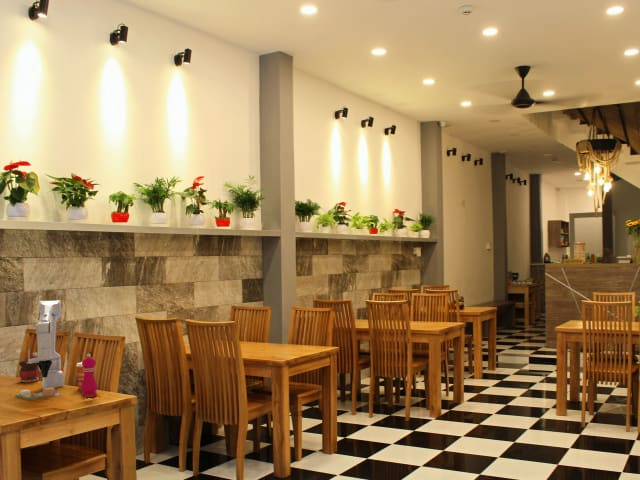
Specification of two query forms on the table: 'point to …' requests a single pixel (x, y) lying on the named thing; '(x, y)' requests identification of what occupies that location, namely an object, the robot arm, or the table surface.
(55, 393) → the plate
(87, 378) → the pepper mill
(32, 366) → the cake
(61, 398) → the table surface
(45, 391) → the terracotta block
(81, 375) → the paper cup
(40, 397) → the box
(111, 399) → the table surface
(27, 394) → the tile cream
